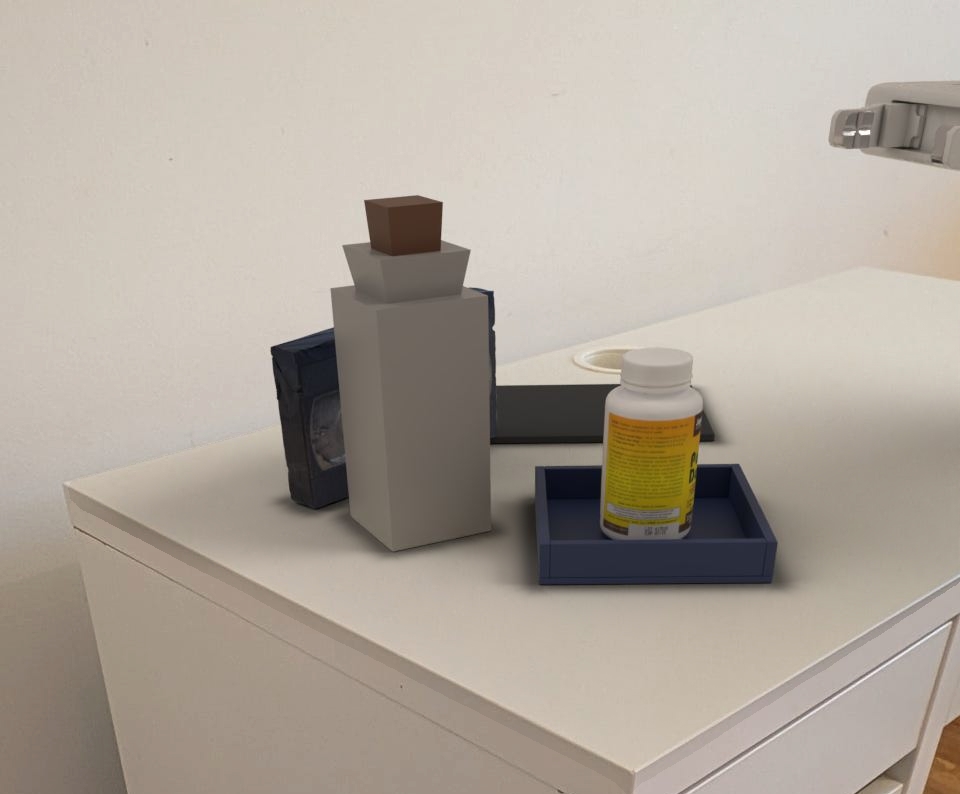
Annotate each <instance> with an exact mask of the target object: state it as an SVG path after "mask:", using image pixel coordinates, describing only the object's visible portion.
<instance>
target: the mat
mask: <svg viewBox="0 0 960 794" xmlns="http://www.w3.org/2000/svg"><path fill="white" fill-rule="evenodd" d="M618 386H621V384H620V383H590V384H589V383H585V384H584V383H581V384H519V385H518V384H515V385H514V384H513V385H509V384H508V385H507V384H506V385H505V384H504V385H496V394H497V406H496V408H497V432H496V435H495V437H492V438H490V444H550V443H551V444H555V443H557V444H558V443H559V444H560V443H564V444H565V443H603V436H604V417H605V403H606V398H607V396H608V394H609V393H610V392H611V391H612V390H613V389H615V388H616V387H618ZM690 387H692V388H693V389H694V387H693V385H692V384H691V385H690ZM715 437H716V435H715V432H714V430H713V428H712V426H711V423H710V421H709V420H708V417H707V415H706V413H705V410H703V412H702V420H701V431H700V441H699V442H713V441H715Z"/></svg>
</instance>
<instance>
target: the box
mask: <svg viewBox="0 0 960 794" xmlns="http://www.w3.org/2000/svg"><path fill="white" fill-rule="evenodd" d="M601 480H602V464H601V465H600V464H599V465H598V464H597V465H535V466H534V516H535V517H534V518H535V533H536V535H535V536H536V537H535V538H536V554H537V555H536V557H537V573H538V585H635V584H636V585H641V584H642V585H643V584H644V585H645V584H646V585H647V584H651V585H652V584H656V585H657V584H753V583H755V584H757V583H759V584H760V583H762V584H763V583H766V584H767V583H773V576H774V572H775V564H776V559H777V558H776V557H777V551H778V550H777V549H778V544H779V542H778V540H777V538H776V536H775V534H774V531H773V529H772V527H771V525H770V523H769V522H768V520H767V518H766V515H765V513H764V511H763V509H762V507H761V505H760V503H759V500H758V499H757V497H756V495H755V493H754V491H753V489H752V487H751V485H750V483H749V481H748V479H747V477H746V474H745V473H744V471H743V469H742V466H741V465H740V463H697V472H696V482H695V492H694V503H693V512H692V521H691V527H690V530H689V532H688V533H687V535H686V536H685V537H684V538H682V539H657V540H612V539H611V538H609V537H608V536H606V535H605V534H604V532H603V531H602V529H601V526H600V504H601Z"/></svg>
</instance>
